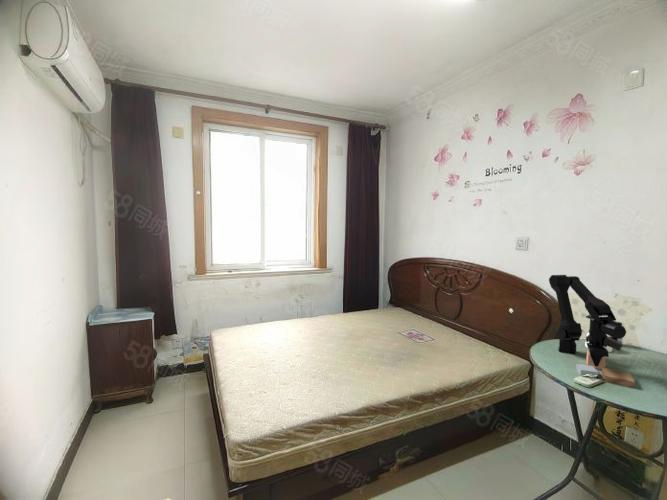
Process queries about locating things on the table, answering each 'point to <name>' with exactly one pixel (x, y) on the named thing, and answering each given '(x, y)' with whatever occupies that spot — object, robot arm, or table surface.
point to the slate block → (586, 369)
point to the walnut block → (618, 377)
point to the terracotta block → (590, 363)
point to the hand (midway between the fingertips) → (595, 363)
